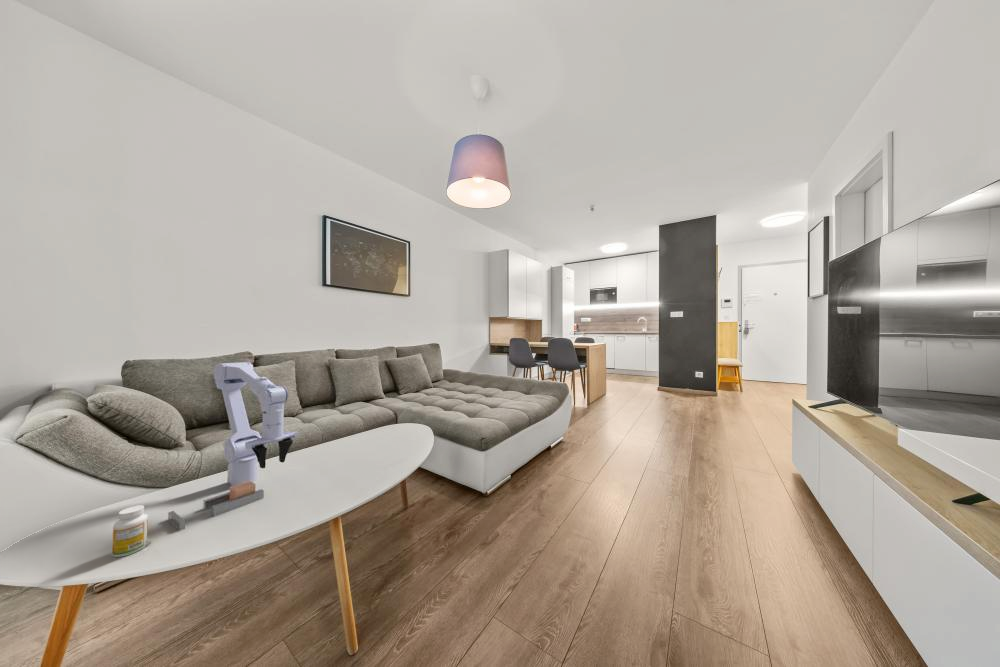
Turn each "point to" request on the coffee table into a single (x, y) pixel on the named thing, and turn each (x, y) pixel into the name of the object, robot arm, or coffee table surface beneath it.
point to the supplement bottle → (130, 531)
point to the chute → (219, 506)
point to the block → (241, 489)
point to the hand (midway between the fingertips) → (272, 464)
